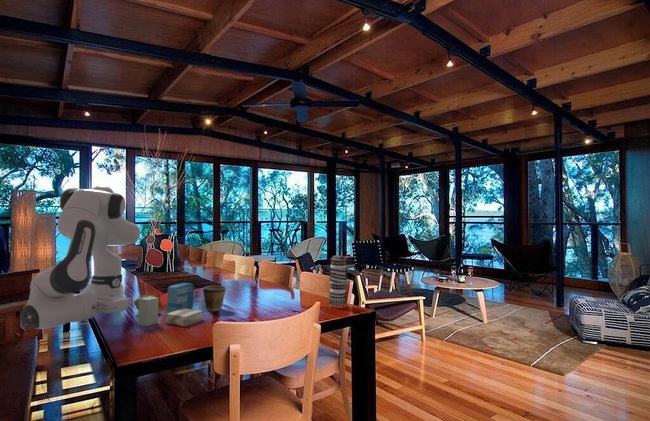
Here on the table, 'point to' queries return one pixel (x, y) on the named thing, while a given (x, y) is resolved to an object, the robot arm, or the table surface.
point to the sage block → (148, 311)
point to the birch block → (184, 317)
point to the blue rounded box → (180, 297)
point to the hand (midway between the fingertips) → (121, 298)
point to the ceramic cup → (214, 297)
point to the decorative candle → (338, 281)
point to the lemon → (142, 297)
